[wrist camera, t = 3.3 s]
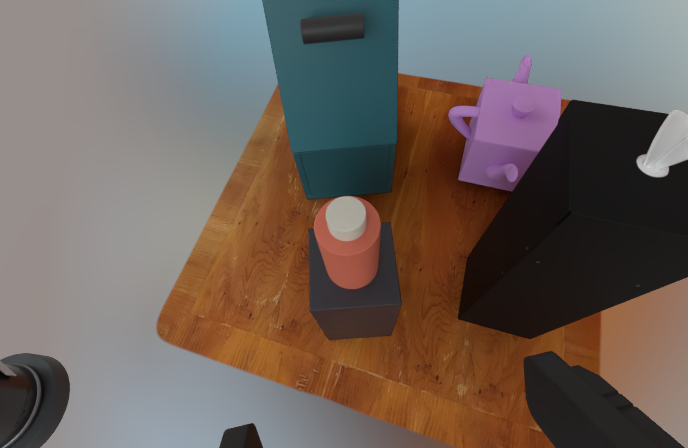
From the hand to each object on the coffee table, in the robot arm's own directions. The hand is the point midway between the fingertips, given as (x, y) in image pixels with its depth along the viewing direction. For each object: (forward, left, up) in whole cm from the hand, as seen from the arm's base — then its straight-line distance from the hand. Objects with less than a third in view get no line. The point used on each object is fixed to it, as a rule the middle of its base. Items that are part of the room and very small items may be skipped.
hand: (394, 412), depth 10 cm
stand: (-1, +10, -29) cm, 30 cm away
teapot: (+19, +29, -29) cm, 45 cm away
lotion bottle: (-1, +10, -15) cm, 18 cm away
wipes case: (-1, +32, -29) cm, 43 cm away
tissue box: (+15, +10, -29) cm, 34 cm away
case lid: (-1, +29, -12) cm, 31 cm away
